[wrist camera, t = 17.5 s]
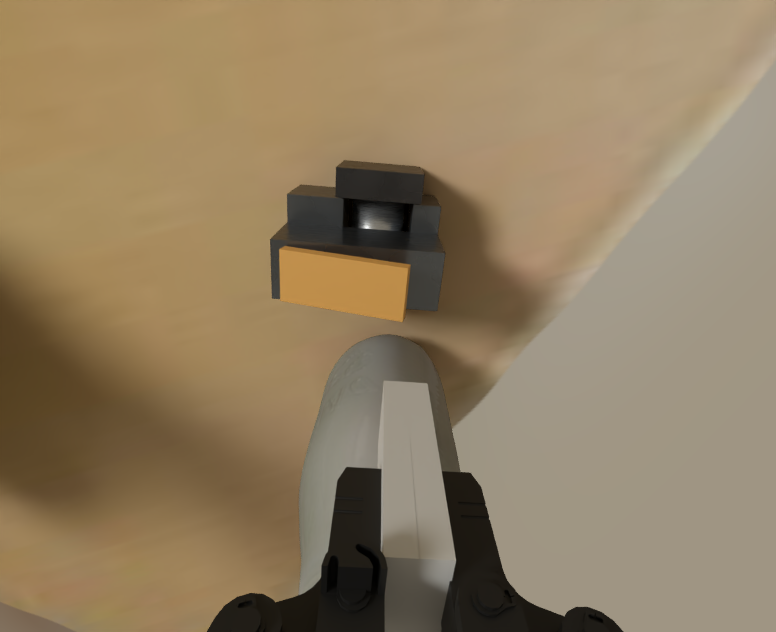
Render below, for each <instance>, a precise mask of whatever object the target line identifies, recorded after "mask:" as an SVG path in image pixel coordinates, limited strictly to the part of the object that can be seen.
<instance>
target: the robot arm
mask: <svg viewBox="0 0 776 632" xmlns="http://www.w3.org/2000/svg"><path fill="white" fill-rule="evenodd" d="M441 629H442V632H623V631H622V630H621V629H620V627H619V626H618V625H617V624H616V623H615V622H614V621H613V620H612V619H610V618H609V617H607V616H606V615H604V614H603V613H602V612H600V611H597V610H595V609H592V608H589V607H575V608H573V609H571V610H570V611H568V612H567V613H566V615H565V617H564V616H562V615H559V614H556V613H554V612H551V611H548V610H545V609H543V608H540V607H538V606H536V605H534V604H532V603H530V602H528V601H526V600H525V599H524V598H523V597H521V596H520V595H519V594H518V593H517V592H516V591H515V589H514V588H513V587H512V586H511V585H510V584H509V582H508V581H507V579H506V577H505V574H504V572H503V569H502V565H501V561H500V557H499V553H498V549H497V546H496V542H495V539H494V534H493V530H492V527H491V523H490V520H489V515H488V511H487V508H486V506H485V500H484V496H483V493H482V489H481V486H480V485H479V484H478V482H477V481H476V480H475V478H474V477H473V476H472V474H471V473H465V472H448V471H442V470H441V464H440V458H439V452H438V446H437V440H436V433H435V427H434V421H433V415H432V409H431V403H430V396H429V390H428V384H427V383H415V382H399V381H384V383H383V394H382V405H381V416H380V427H379V438H378V469H376V468H359V467H346V468H345V470H344V471H343V473H342V474H341V476H340V477H339V479H338V480H337V486H336V494H335V502H334V509H333V517H332V524H331V532H330V540H329V547H328V552H327V553H326V554H325V557H324V560H323V563H322V565H321V578H320V580H319V581H318V582H317V583H316V584H315V585H314V586H313V587H312V588H311V589H309V590H308V591H306V592H305V593H303V594H301V595H298V596H296V597H293V598H289V599H286V600H283V601H279V602H276V603H275V601H274V600H273V599H271V598H269V597H267V596H266V595H264V594H255V593H249V594H246V595H242V596H239V597H237V598H235V599H234V600H232V601H231V602H229V603H228V604H226V605H225V606H224V607H223V608H222V610H221V611H220V612H219V613H218V615H217V616H216V617H215V619H214V620H213V622H212V624H211V625H210V627H209V629H208V631H207V632H441Z"/></svg>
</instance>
